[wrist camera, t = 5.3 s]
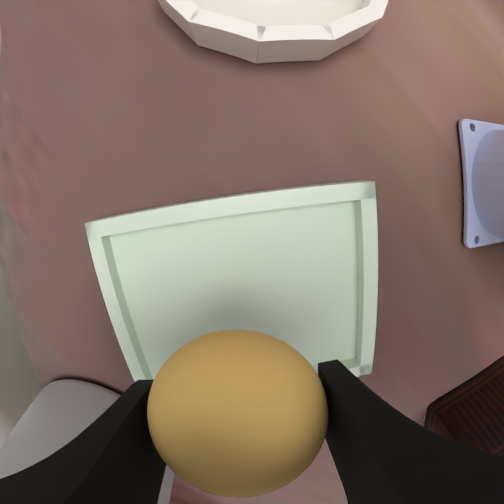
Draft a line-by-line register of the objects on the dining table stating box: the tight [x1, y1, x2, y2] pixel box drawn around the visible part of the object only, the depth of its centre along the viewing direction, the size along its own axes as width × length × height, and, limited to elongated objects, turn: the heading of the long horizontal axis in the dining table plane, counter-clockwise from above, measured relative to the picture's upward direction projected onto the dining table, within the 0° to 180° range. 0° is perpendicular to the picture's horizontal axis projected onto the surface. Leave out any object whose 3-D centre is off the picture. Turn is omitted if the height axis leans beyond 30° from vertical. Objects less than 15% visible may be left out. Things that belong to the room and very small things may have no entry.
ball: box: [147, 329, 328, 497], centre depth 7 cm, size 5×5×5 cm
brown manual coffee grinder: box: [425, 357, 504, 457], centre depth 12 cm, size 16×11×18 cm
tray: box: [85, 180, 378, 382], centre depth 15 cm, size 14×11×2 cm
